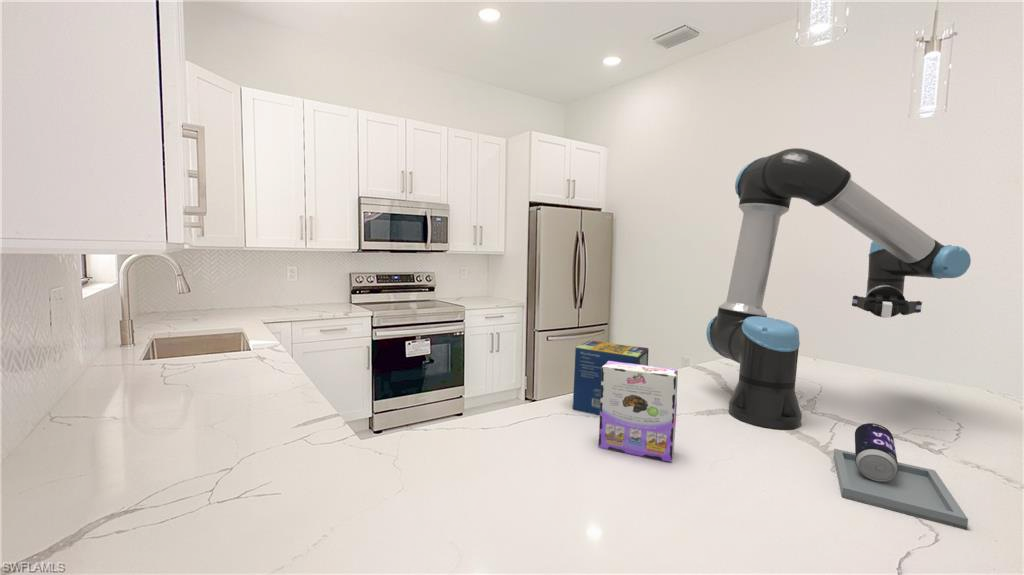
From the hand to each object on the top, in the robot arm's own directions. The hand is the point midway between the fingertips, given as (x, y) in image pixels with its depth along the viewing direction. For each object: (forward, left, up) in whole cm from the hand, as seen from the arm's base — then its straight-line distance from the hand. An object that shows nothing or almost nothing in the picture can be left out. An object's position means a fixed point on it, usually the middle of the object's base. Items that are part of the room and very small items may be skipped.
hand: (886, 310), depth 92 cm
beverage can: (-2, -14, -23) cm, 27 cm away
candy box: (-41, -36, -28) cm, 61 cm away
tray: (-1, -25, -28) cm, 37 cm away
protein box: (-53, -18, -28) cm, 62 cm away
